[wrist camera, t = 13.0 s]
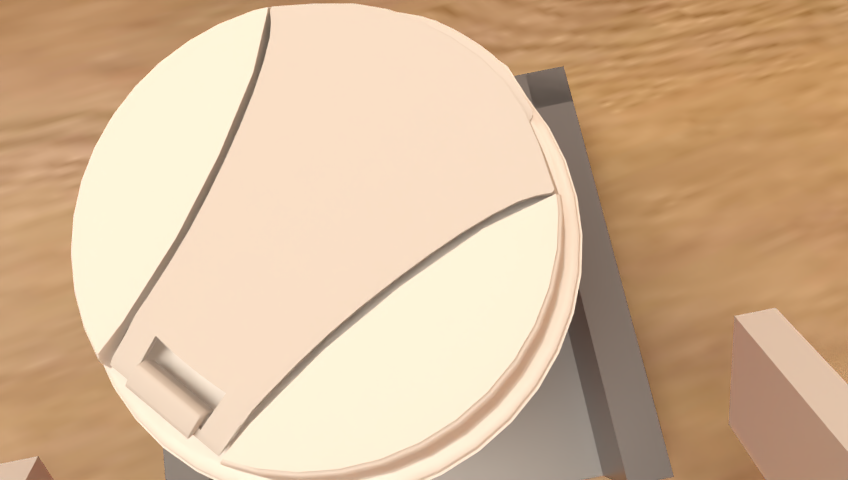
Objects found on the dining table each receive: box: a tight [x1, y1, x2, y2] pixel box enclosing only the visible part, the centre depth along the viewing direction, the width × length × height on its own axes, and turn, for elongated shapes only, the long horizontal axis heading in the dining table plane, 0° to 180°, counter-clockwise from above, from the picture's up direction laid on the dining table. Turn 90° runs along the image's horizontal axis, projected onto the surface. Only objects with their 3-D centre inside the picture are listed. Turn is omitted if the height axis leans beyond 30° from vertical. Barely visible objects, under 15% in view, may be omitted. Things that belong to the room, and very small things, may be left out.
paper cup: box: [71, 4, 582, 480], centre depth 16 cm, size 8×8×14 cm
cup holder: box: [163, 66, 674, 480], centre depth 22 cm, size 12×13×4 cm
